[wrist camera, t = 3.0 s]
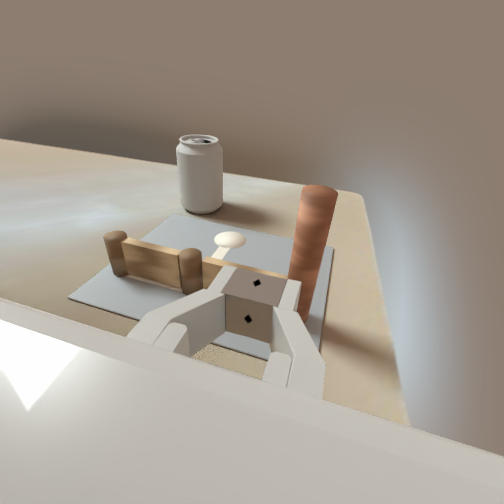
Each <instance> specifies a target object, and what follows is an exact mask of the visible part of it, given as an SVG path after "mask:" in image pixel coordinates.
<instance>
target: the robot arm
mask: <svg viewBox="0 0 504 504" xmlns="http://www.w3.org/2000/svg"><path fill="white" fill-rule="evenodd" d="M301 284H302V283H301V281H296V280H291V279H284V278H279V277H275V276H270V275H266V274H262V273H258V272H254V271H250V270H246V269H242V268H237V267H233V266H229V265H225V266H223V267H222V269H221V270H220V272H219V273H218V275H217V276H216V277H215V279H214V280H213V282H212V283H211V285H210V286H209V287H208V289H202V290H199V291H197V292H195V293H192V294H190V295H188V296H185V297H183V298H181V299H178V300H176V301H174V302H171V303H169V304H167V305H164V306H162V307H160V308H157V309H155V310H153V311H150V312H148V313H146V314H145V316H144V317H143V318H142V319H141V320H140V321H139V322H138V324H137V325H136V326H135V327H134V328H133V329H132V330H131V331H130V333H129V334H128V335H127V336H126V337H124V336H121V335H117V334H114V333H111V332H108V331H105V330H102V329H98V328H95V327H92V326H89V325H86V324H83V323H79V322H76V321H73V320H70V319H67V318H63V317H60V316H57V315H54V314H51V313H48V312H44V311H41V310H38V309H35V308H32V307H29V306H25V305H22V304H19V303H16V302H13V301H10V300H6V299H3V298H0V504H504V456H501V455H498V454H494V453H491V452H488V451H485V450H481V449H478V448H475V447H472V446H469V445H466V444H463V443H460V442H456V441H453V440H450V439H447V438H443V437H441V436H437V435H434V434H431V433H428V432H424V431H422V430H418V429H415V428H412V427H409V426H406V425H403V424H399V423H396V422H393V421H390V420H387V419H383V418H380V417H377V416H374V415H371V414H368V413H364V412H361V411H358V410H355V409H352V408H349V407H345V406H342V405H339V404H336V403H333V402H330V401H326V400H323V399H322V394H323V385H324V376H325V367H326V364H325V362H324V361H323V359H322V357H321V355H320V353H319V351H318V349H317V347H316V346H315V344H314V342H313V340H312V338H311V336H310V334H309V332H308V331H307V329H306V327H305V325H304V323H303V321H302V319H301V317H300V315H299V314H298V312H297V307H298V301H299V296H300V290H301ZM225 331H226V332H230V333H234V334H238V335H242V336H246V337H249V338H253V339H256V340H259V341H262V342H265V343H269V346H270V350H271V353H270V356H269V359H268V362H267V365H266V368H265V371H264V374H263V377H262V380H260V379H257V378H254V377H251V376H247V375H244V374H241V373H238V372H235V371H232V370H228V369H225V368H222V367H219V366H216V365H212V364H209V363H206V362H203V361H200V360H197V359H193V358H191V356H193V355H194V354H195V353H197V352H198V351H200V350H201V349H202V348H204V347H205V346H207V345H208V344H210V343H211V342H212V341H214V340H215V339H217V338H218V337H220V336H221V335H222V334H224V333H225Z"/></svg>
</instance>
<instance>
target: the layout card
mask: <svg viewBox="0 0 504 504" xmlns="http://www.w3.org/2000/svg"><path fill="white" fill-rule="evenodd" d="M140 241H144V242H148V243H152V244H156V245H161V246H165V247H169V248H173V249H177V250H181V251H182V250H184V249H187V248H196V249H199V250H200V251H201V252H202V261H203V259H204V258H205V257H206V256H208V257H212V258H216V259H220V260H225V261H229V262H233V263H237V264H241V265H245V266H250V267H254V268H258V269H262V270H266V271H270V272H275V273H279V274H283V275H287V276H288V272H289V266H290V260H291V254H292V248H293V242H294V239H291V238H286V237H281V236H276V235H272V234H267V233H262V232H257V231H253V230H248V229H243V228H238V227H234V226H229V225H224V224H219V223H215V222H210V221H205V220H200V219H196V218H191V217H186V216H181V215H177V214H172V215H171V216H170V217H168V218H167V219H166V220H165V221H163V222H162V223H161V224H160V225H158V226H157V227H156V228H155V229H153V230H152V231H151V232H149V233H148V234H147V235H146V236H144V237H143V238H142V239H141V240H140ZM332 254H333V247H329V246H325V249H324V254H323V258H322V262H321V266H320V270H319V274H318V278H317V282H316V286H315V291H314V295H313V299H312V303H311V307H310V311H309V315H308V319H307V321H306V322H305V323H304V325H305V327H306V329H307V331H308V332H309V334H310V336H311V338H312V340H313V342H314V344H315V346H316V347H317V349H318V351H319V344H320V337H321V330H322V323H323V316H324V309H325V302H326V295H327V288H328V282H329V275H330V268H331V261H332ZM185 296H187V295H185V294H184V293H183V290H182V287H181V288H179V287H175V286H172V285H168V284H164V283H161V282H157V281H153V280H150V279H146V278H142V277H139V276H135V275H131V274H129V275H127V276H123V277H118V276H115V275H114V274H113V271H112V267H111V264H109V265H108V266H106V267H105V268H104V269H103V270H101V271H100V272H99V273H98V274H96V275H95V276H94V277H92V278H91V279H90V280H89V281H87V282H86V283H85V284H84V285H82V286H81V287H80V288H79V289H77V290H76V291H75V292H74V293H72V294H71V295H70V296H68V299H72V300H75V301H78V302H81V303H84V304H88V305H91V306H94V307H97V308H101V309H104V310H107V311H110V312H113V313H117V314H120V315H123V316H126V317H129V318H133V319H136V320H139V321H140V320H141V319H142V318H143V317H144V316H145V314H146V313H148V312H150V311H153V310H155V309H157V308H160V307H162V306H164V305H167V304H169V303H171V302H174V301H176V300H178V299H181V298H183V297H185ZM211 343H213V344H216V345H219V346H222V347H226V348H229V349H232V350H235V351H239V352H242V353H245V354H248V355H251V356H255V357H258V358H261V359H264V360H267V361H268V359H269V356H270V353H271V350H270V346H269V343H265V342H262V341H259V340H256V339H253V338H249V337H246V336H242V335H238V334H234V333H230V332H226V331H225V333H224V334H222V335H221V336H220V337H218V338H217V339H215V340H214V341H212V342H211Z"/></svg>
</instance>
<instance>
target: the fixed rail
mask: <svg viewBox="0 0 504 504" xmlns="http://www.w3.org/2000/svg"><path fill="white" fill-rule="evenodd" d="M104 242H105V245H106V249H107V253H108V256H109V260H110V264H111V267H112V271H113V274H114V275H115V276H118V277H123V276H127V275H129V274H131V275H135V276H139V277H142V278H146V279H150V280H153V281H157V282H161V283H164V284H168V285H172V286H175V287H179V288H181V287H182V290H183V293H184V294H185V295H187V296H188V295H190V294H192V293H195V292H197V291H199V290H202V289H203V270H202V252H201V251H200V250H199V249H196V248H187V249H184V250H182V251H181V250H177V249H173V248H169V247H165V246H161V245H156V244H152V243H148V242H144V241H140V240H136V239H131V238H127V235H126V233H125V232H123V231H112V232H109V233H107V234H105V235H104Z"/></svg>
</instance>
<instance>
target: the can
mask: <svg viewBox="0 0 504 504" xmlns="http://www.w3.org/2000/svg"><path fill="white" fill-rule="evenodd" d="M179 140H180V142H181V143H180V144H179V145H178V146H177V148H176V153H177V154H176V155H177V166H178V177H179V189H180V200H181V205H182V206H183V207H184V208H186V209H187V210H188V211H190V212H192V213H197V214H207V213H211V212H214V211H216V210H217V209H218V208H219V207H220V206H221V205H222V203H223V149H222V148H221V146H220V145H219V144H218V142H219V139H217V138H216V137H213V136H208V135H187V136H183V137H181V138H180V139H179Z"/></svg>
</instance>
